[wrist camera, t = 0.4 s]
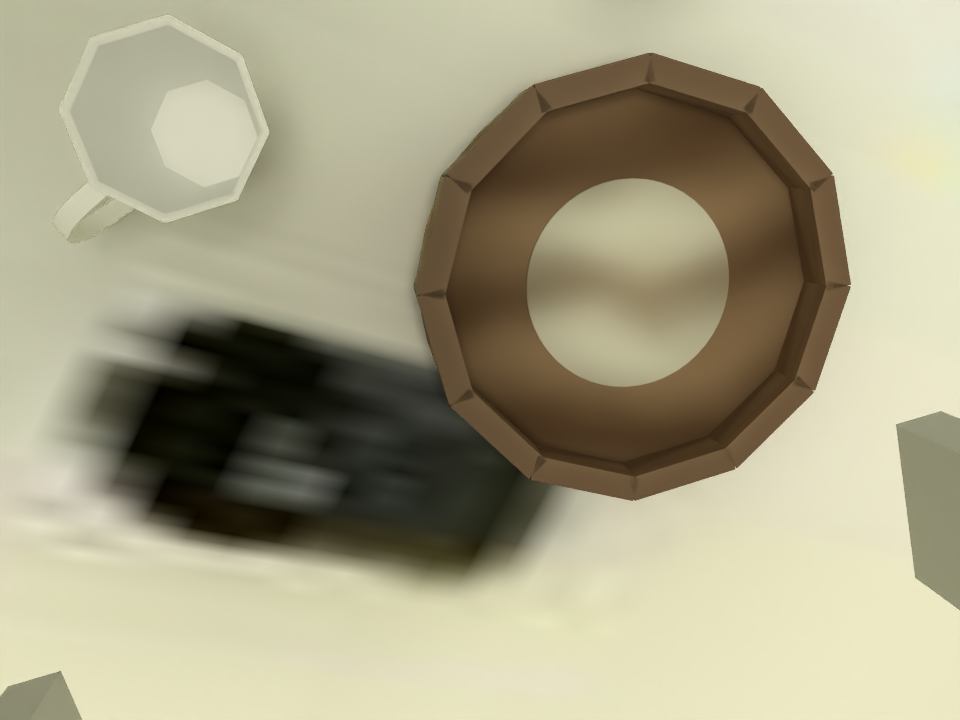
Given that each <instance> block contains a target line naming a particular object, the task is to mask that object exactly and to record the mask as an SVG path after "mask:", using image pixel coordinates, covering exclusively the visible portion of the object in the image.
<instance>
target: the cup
mask: <svg viewBox="0 0 960 720" xmlns="http://www.w3.org/2000/svg"><path fill="white" fill-rule="evenodd" d="M59 112H60V115H61V117H62V120H63V122H64V124H65V127H66V129H67V132H68V134H69V136H70V139H71V141H72V144H73V146H74V148H75V151H76V153H77V156H78V158H79V160H80V163H81V165H82V168H83V170H84V172H85V175H86V177H87V180H88V182H87V183H86V184H85V185H84V186H83V187H81V188H80V189H79V190H78V191H77V192H76V193H75V194H74V195H73V196H72V197H71V198H69V199H68V200H67V201H66V202H65V204H64V205H63V206H62V207H61V208H60V209H59V210H58V211H57V213H56V215H55V217H54V219H53V221H52V225H53V226H54V227H55V228H56V229H57V230H58V231H59V232H60V233H61V234H62V235H63V236H64V237H65V238H66V239H67V240H68V241H70V242H71V243H80V242H82V241H84V240H87V239H89V238H91V237H93V236H95V235H97V234H98V233H100V232H102V231H103V230H105V229H106V228H108V227H110V226H111V225H113V224H114V223H116V222H117V221H119V220H120V219H121V218H123V217H124V216H126V215H127V214H129V213H130V212H132V211H133V210H134V209H136V210H138V211H140V212H142V213H144V214H146V215H149V216H151V217H153V218H155V219H157V220H159V221H161V222H163V223H167V222H171V221H174V220H177V219H180V218H183V217H187V216H190V215H193V214H196V213H199V212H203V211H206V210H209V209H212V208H215V207H219V206H222V205H225V204H228V203H231V202H235V201H238V199H239V197H240V195H241V192H242V190H243V188H244V186H245V184H246V182H247V180H248V178H249V176H250V173H251V171H252V169H253V167H254V165H255V163H256V161H257V159H258V156H259V154H260V152H261V150H262V148H263V146H264V144H265V142H266V140H267V137H268V135H269V133H270V131H269V128H268V126H267V123H266V120H265V117H264V114H263V112H262V109H261V106H260V103H259V100H258V98H257V95H256V92H255V89H254V86H253V84H252V81H251V78H250V75H249V72H248V70H247V67H246V64H245V61H244V58H243V55H242V54H240V53H238V52H236V51H234V50H232V49H231V48H229V47H227V46H225V45H223V44H222V43H220V42H218V41H216V40H214V39H212V38H211V37H209V36H207V35H205V34H203V33H201V32H200V31H198V30H196V29H194V28H192V27H190V26H189V25H187V24H185V23H183V22H181V21H180V20H178V19H176V18H174V17H172V16H170V15H169V14H166V15H163V16H160V17H156V18H153V19H149V20H146V21H143V22H139V23H136V24H132V25H129V26H126V27H122V28H119V29H116V30H112V31H109V32H105V33H102V34H99V35H95V36H92V37H90V39H89V41H88V43H87V46H86V48H85V50H84V53H83V55H82V57H81V59H80V62H79V64H78V66H77V69H76V71H75V73H74V76H73V78H72V80H71V83H70V85H69V87H68V89H67V92H66V94H65V96H64V99H63V101H62V103H61V106H60V108H59ZM110 197H112V198H114V200H112V201H111V202H109V203H108V204H106V205H105V206H103V207H102V208H100V209H98V210H97V211H95V212H93V213H92V214H90V213H91V212H92V211H94V210H95V209H96V208H97V207H98V206H100V205H101V204H102V203H103V202H105V201H106V200H107V199H108V198H110ZM89 214H90V215H89ZM87 215H88V216H87ZM86 216H87V217H86Z"/></svg>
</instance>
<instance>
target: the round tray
mask: <svg viewBox="0 0 960 720" xmlns="http://www.w3.org/2000/svg"><path fill="white" fill-rule="evenodd" d="M832 174H833V173H832V172H831V171H830V169H829V168H828V167H827V166H826V165H825V163H824V162H823V161H822V160H821V159H820V157H819V156H818V155H817V154H816V153H815V151H814V150H813V149H812V148H811V146H810V145H809V144H808V143H807V142H806V140H805V139H804V138H803V137H802V136H801V134H800V133H799V132H798V131H797V130H796V128H795V127H794V126H793V125H792V123H791V122H790V121H789V120H788V119H787V117H786V116H785V115H784V114H783V113H782V111H781V110H780V109H779V108H778V107H777V105H776V104H775V103H774V102H773V100H772V99H771V98H770V97H769V96H768V94H767V93H766V92H765V91H764V90H763V88H761V89H760V87H759V86H756V85H753V84H749V83H746V82H743V81H740V80H737V79H734V78H730V77H727V76H724V75H721V74H718V73H715V72H711V71H708V70H705V69H702V68H699V67H696V66H692V65H689V64H686V63H683V62H680V61H677V60H673V59H670V58H667V57H664V56H661V55H658V54H654V53H651V54H650V53H647V54H643V55H640V56H636V57H632V58H629V59H625V60H622V61H618V62H614V63H611V64H607V65H603V66H600V67H596V68H592V69H589V70H585V71H581V72H578V73H574V74H570V75H567V76H563V77H559V78H556V79H552V80H548V81H545V82H541V83H538V84H534V85H533V86H531V87H529V88H528V89H526V90H525V91H523V92H522V93H520V94H519V95H518V96H517V97H516V98H515V99H514V100H513V101H512V102H511V103H510V105H509V106H508V107H507V108H506V109H505V110H504V111H503V112H502V113H501V114H499V115H498V116H497V117H496V118H495V119H494V120H493V121H492V122H491V123H490V124H489V125H487V126H486V127H485V128H484V129H483V130H482V131H481V132H480V133H479V134H478V135H477V136H476V137H475V139H474V140H473V141H472V142H471V143H470V145H469V146H468V147H467V148H466V149H465V151H464V152H463V153H462V154H461V156H460V157H459V158H458V159H457V160H456V161H455V162H454V163H453V164H452V165H451V166H450V167H449V168H448V169H447V171H446V172H445V173H444V174H443V175H442V177H441V178H440V182H439V186H438V190H437V194H436V198H435V202H434V205H433V208H432V211H431V214H430V218H429V221H428V224H427V227H426V230H425V235H424V240H423V246H422V252H421V257H420V263H419V267H418V271H417V275H416V279H415V284H414V287H415V288H414V290H415V293H416V296H417V300H418V303H419V307H420V310H421V315H422V319H423V324H424V328H425V333H426V337H427V341H428V344H429V347H430V349H431V352H432V355H433V357H434V360H435V363H436V366H437V368H438V371H439V375H440V378H441V382H442V385H443V388H444V391H445V394H446V397H447V400H448V403H449V405H450V407H451V408H452V409H453V410H454V411H456V412H457V413H458V414H459V415H460V416H461V417H462V418H463V419H464V420H465V421H466V422H468V423H469V424H470V425H471V426H472V427H473V428H474V429H475V430H476V431H477V432H478V433H480V434H481V435H482V436H483V437H484V438H485V439H486V440H487V441H488V442H489V443H490V444H492V445H493V446H494V447H495V448H496V449H497V450H498V451H499V452H500V453H501V454H502V455H503V456H505V457H506V458H507V459H508V460H509V461H510V462H511V463H512V464H513V465H514V466H515V467H517V468H518V469H519V470H520V471H521V472H522V473H523V474H524V475H525V476H526V477H527V478H530V479H531V480H534V481H539V482H544V483H549V484H553V485H558V486H563V487H568V488H573V489H578V490H583V491H587V492H592V493H597V494H602V495H607V496H612V497H617V498H621V499H626V500H631V501H633V499H634V500H639V499H642V498H645V497H648V496H651V495H655V494H658V493H661V492H664V491H667V490H670V489H674V488H677V487H680V486H683V485H686V484H690V483H693V482H696V481H699V480H702V479H705V478H709V477H712V476H715V475H718V474H721V473H725V472H728V471H731V470H734V469H735V467H736V468H738V467H739V466H740V465H741V464H742V463H743V462H744V461H745V460H746V459H747V458H748V457H749V456H750V455H751V454H752V453H753V452H754V451H755V450H756V449H757V448H758V447H759V446H760V445H761V444H762V443H763V442H764V441H765V440H766V439H767V438H768V437H769V436H770V435H771V434H772V433H773V432H774V431H775V430H776V429H777V428H778V427H779V426H780V425H781V424H782V423H783V422H784V421H785V420H786V419H787V418H788V417H789V416H790V415H791V414H792V413H793V412H794V411H795V410H796V409H797V408H799V407H800V406H801V405H802V404H803V403H804V402H805V401H806V400H807V399H808V398H809V397H810V396H811V395H812V394H813V393H814V392H813V391H812V390H815V389H816V386H817V383H818V380H819V378H820V375H821V372H822V369H823V366H824V363H825V360H826V357H827V354H828V351H829V348H830V345H831V343H832V340H833V337H834V334H835V331H836V328H837V325H838V322H839V319H840V316H841V313H842V310H843V308H844V305H845V302H846V299H847V296H848V293H849V290H850V286H847V285H851V282H850V276H849V269H848V263H847V257H846V250H845V244H844V238H843V231H842V225H841V219H840V212H839V206H838V199H837V193H836V187H835V180H834V176H831V175H832Z"/></svg>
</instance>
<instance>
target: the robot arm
mask: <svg viewBox="0 0 960 720" xmlns="http://www.w3.org/2000/svg"><path fill="white" fill-rule="evenodd" d="M896 427H897V435H898V443H899V451H900V459H901V467H902V475H903V483H904V491H905V499H906V507H907V515H908V523H909V531H910V539H911V547H912V555H913V563H914V571H915V578H916V579H918V580H919V581H920V582H922V583H923V584H925V585H926V586H927V587H929V588H930V589H931V590H933V591H934V592H936V593H937V594H938V595H940V596H941V597H943V598H944V599H945V600H947V601H948V602H949V603H951V604H952V605H954V606H955V607H956V608H958V609H959V610H960V419H959V418H956V417H954V416H951V415H949V414H946V413H944V412H941V411H940V412H937V413H933V414H930V415H927V416H923V417H920V418H917V419H913V420H910V421H906V422H903V423H900V424H896ZM0 720H82V718H81V716H80V714H79V712H78V709H77V707H76V705H75V702H74V700H73V698H72V696H71V693H70V691H69V689H68V686H67V684H66V682H65V680H64V677H63V675H62V673H61V671H59V672H56V673H52V674H49V675H46V676H42V677H39V678H36V679H32V680H29V681H25V682H22V683H19V684H15V685H12V686H8V687H7V688H6V690H5V691H4V693H3V694H2V695H1V697H0Z"/></svg>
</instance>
